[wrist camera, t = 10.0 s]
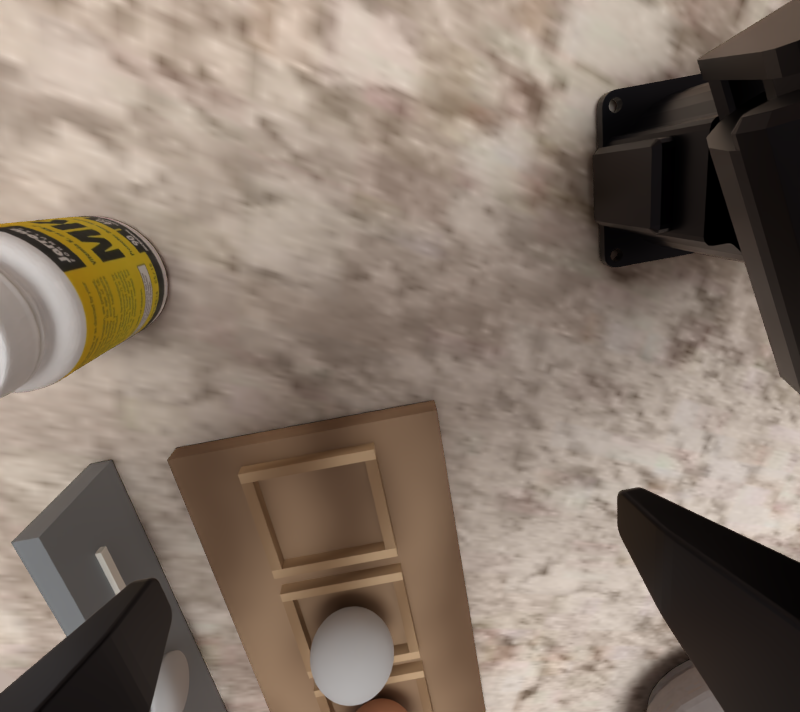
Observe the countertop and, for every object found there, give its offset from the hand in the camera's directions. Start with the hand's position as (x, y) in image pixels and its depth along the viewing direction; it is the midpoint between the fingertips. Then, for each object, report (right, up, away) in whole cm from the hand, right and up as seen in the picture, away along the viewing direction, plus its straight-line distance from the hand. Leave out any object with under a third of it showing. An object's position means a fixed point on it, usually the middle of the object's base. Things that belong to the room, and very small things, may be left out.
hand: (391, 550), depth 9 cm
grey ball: (-2, -10, +15) cm, 18 cm away
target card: (-12, -11, +16) cm, 23 cm away
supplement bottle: (-11, +7, +10) cm, 17 cm away
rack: (-2, -9, +16) cm, 19 cm away
